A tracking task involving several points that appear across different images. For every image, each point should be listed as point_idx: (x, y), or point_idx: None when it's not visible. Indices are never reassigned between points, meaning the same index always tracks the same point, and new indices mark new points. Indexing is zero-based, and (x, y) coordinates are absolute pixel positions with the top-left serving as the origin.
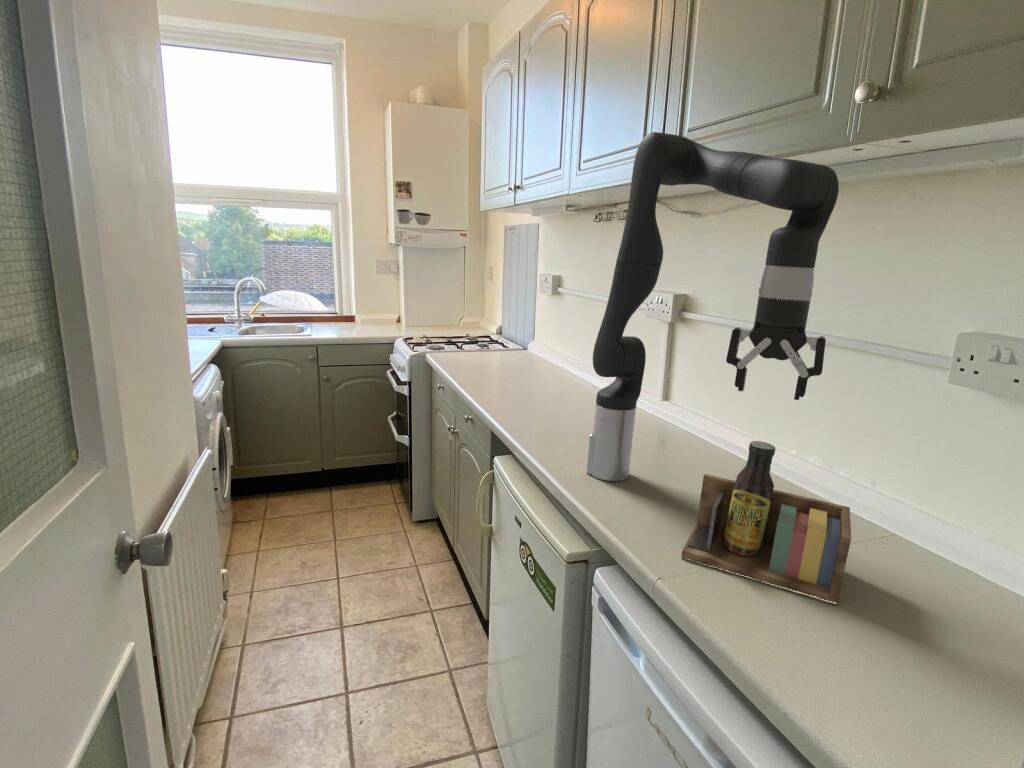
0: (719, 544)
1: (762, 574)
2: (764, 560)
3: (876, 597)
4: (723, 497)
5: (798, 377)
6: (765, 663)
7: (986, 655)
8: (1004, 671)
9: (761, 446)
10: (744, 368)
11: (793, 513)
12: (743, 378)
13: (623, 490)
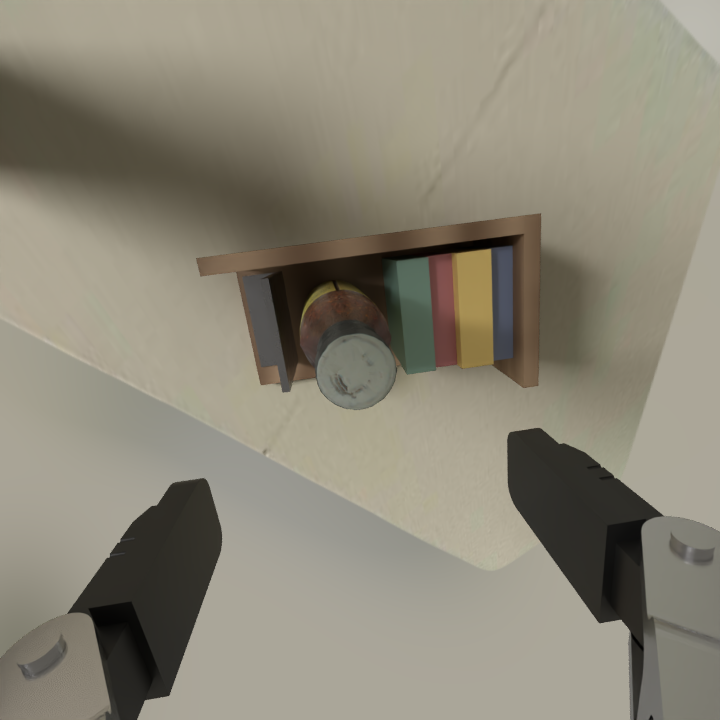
0: (300, 319)
1: None
2: None
3: None
4: (273, 292)
5: (603, 615)
6: (422, 514)
7: (641, 335)
8: (651, 356)
9: (358, 395)
10: (142, 695)
11: (426, 298)
12: (190, 619)
13: (9, 175)
